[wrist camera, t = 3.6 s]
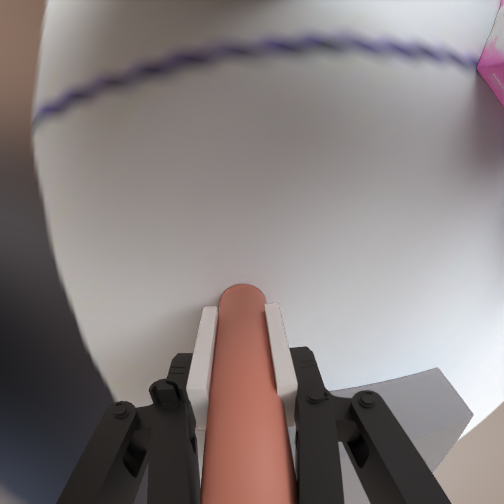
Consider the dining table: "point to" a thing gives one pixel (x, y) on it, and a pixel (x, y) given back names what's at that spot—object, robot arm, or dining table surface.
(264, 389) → the pin
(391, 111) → the dining table surface
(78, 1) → the dining table surface
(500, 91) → the gum box
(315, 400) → the robot arm
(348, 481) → the hole block
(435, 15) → the dining table surface
